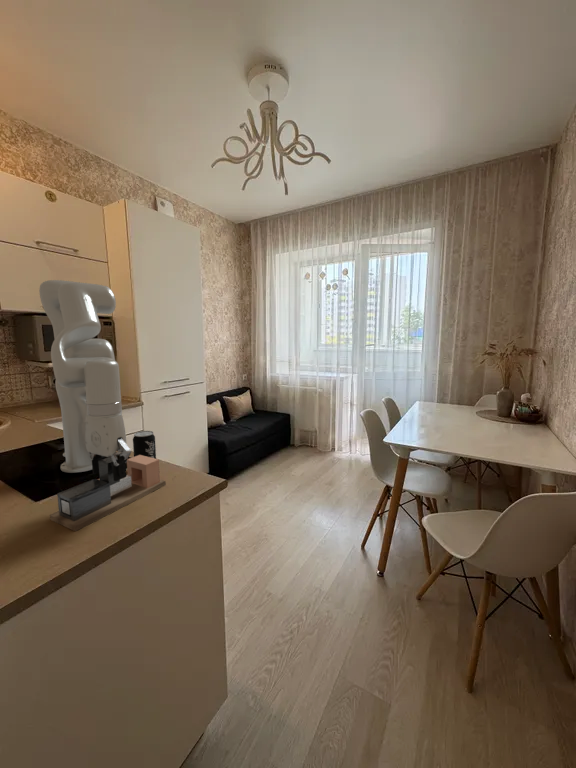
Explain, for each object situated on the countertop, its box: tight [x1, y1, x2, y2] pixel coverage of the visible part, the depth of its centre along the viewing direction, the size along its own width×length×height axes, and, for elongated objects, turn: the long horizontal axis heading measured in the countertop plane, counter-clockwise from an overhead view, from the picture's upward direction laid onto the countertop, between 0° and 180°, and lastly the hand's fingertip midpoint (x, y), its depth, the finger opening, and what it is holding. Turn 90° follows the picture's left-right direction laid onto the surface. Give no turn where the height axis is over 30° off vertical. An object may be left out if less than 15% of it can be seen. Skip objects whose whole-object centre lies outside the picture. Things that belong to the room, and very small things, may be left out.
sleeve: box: [56, 478, 111, 521], centre depth 77 cm, size 6×9×5 cm, turn 154°
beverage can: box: [132, 430, 157, 459], centre depth 104 cm, size 7×7×12 cm
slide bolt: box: [61, 457, 132, 515], centre depth 80 cm, size 4×16×9 cm, turn 154°
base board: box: [49, 479, 167, 532], centre depth 84 cm, size 10×26×1 cm, turn 153°
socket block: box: [126, 455, 161, 488], centre depth 92 cm, size 8×4×7 cm, turn 64°
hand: (109, 475), depth 83 cm, fingers open, 7 cm apart
